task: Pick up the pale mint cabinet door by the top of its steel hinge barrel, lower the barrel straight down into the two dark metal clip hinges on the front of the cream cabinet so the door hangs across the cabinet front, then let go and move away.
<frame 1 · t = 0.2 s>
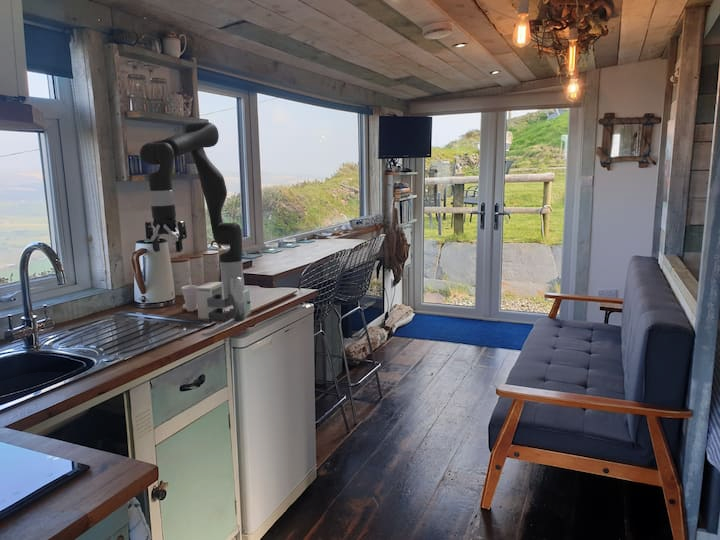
hand: (168, 251, 184), 29 cm above the worktop, tool pointing down, fingers open, 8 cm apart
smoothie: (191, 310, 218), on the worktop
door: (239, 319, 203), on the worktop
cabinet: (212, 314, 210), on the worktop
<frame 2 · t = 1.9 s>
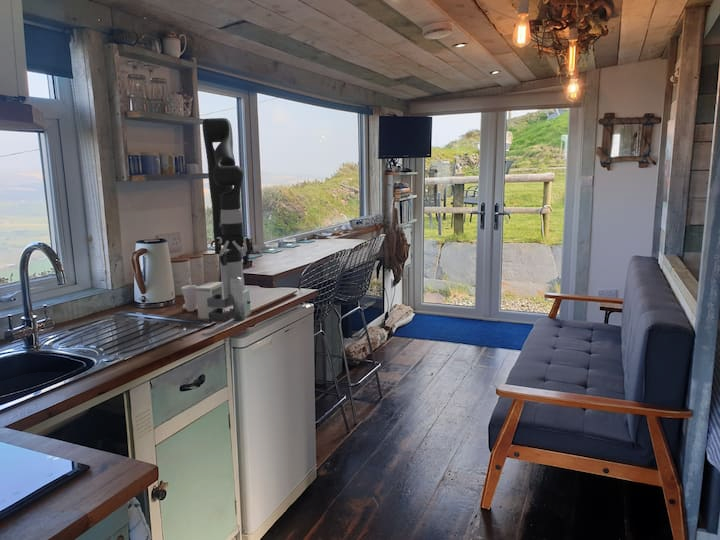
hand: (235, 265, 199), 21 cm above the worktop, tool pointing down, fingers open, 8 cm apart
nothing on the worktop moved.
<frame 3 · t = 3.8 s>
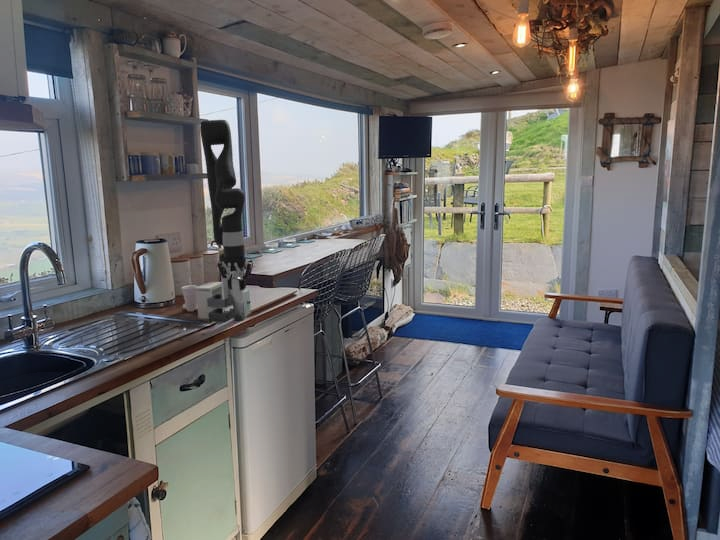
hand: (237, 289, 201), 12 cm above the worktop, tool pointing down, fingers closed on door, 4 cm apart
door: (239, 319, 203), on the worktop, touching gripper
everything else where it was.
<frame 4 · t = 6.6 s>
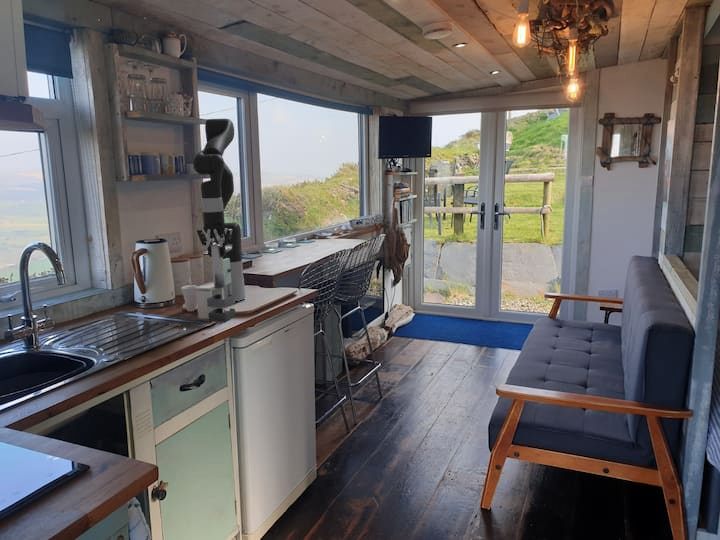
hand: (217, 256, 200), 24 cm above the worktop, tool pointing down, fingers closed on door, 4 cm apart
door: (219, 287, 202), point 12 cm above the worktop, touching gripper
everything else where it was.
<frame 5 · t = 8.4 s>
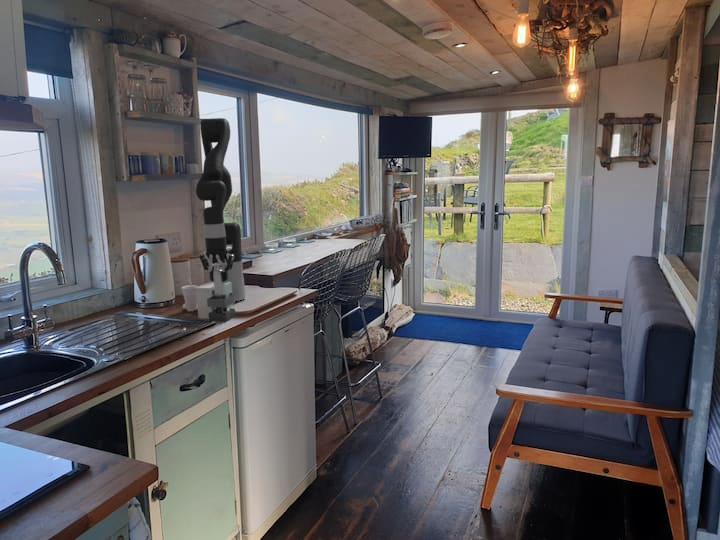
hand: (219, 281, 202), 15 cm above the worktop, tool pointing down, fingers closed on door, 4 cm apart
door: (221, 311, 204), point 3 cm above the worktop, touching gripper
everything else where it was.
when the fingers open (13 cm above the worktop, at t = 9.7 s): door drops 1 cm, on the worktop.
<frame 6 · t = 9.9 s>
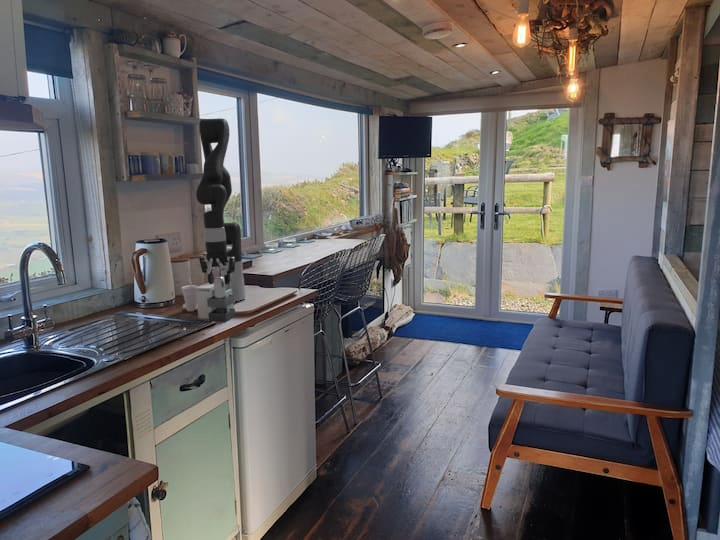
hand: (219, 283, 202), 14 cm above the worktop, tool pointing down, fingers open, 6 cm apart
door: (222, 318, 205), on the worktop
everything else where it was.
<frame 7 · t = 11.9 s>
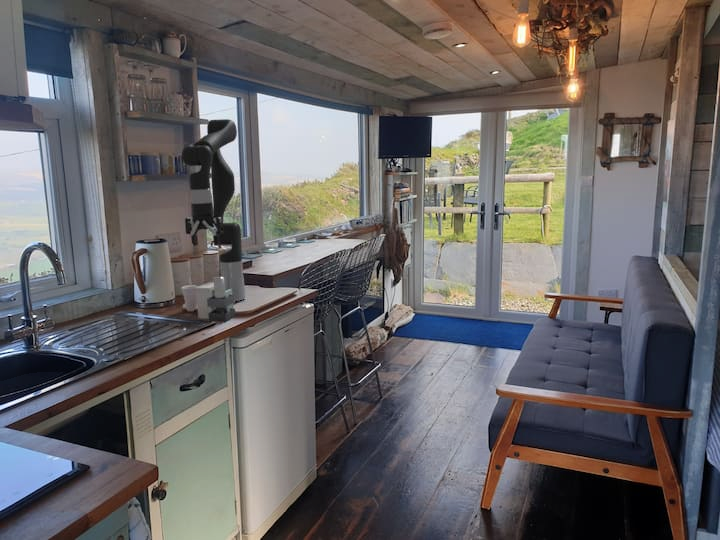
hand: (206, 245, 201), 28 cm above the worktop, tool pointing down, fingers open, 8 cm apart
nothing on the worktop moved.
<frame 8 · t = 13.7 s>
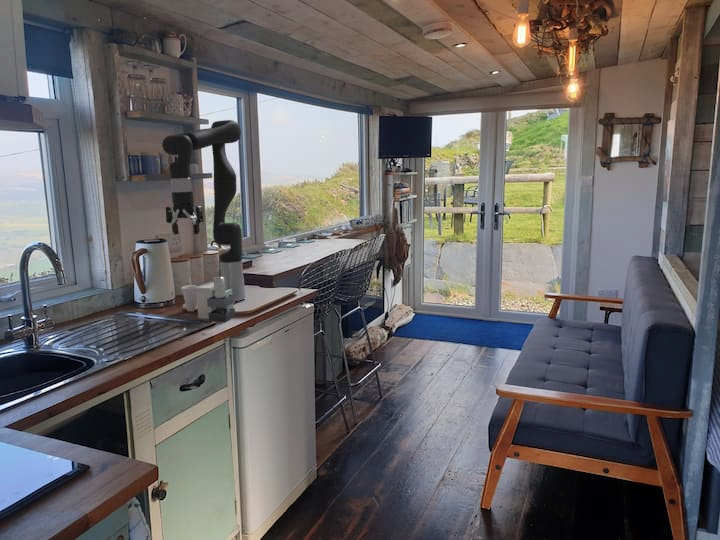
hand: (186, 234, 203), 32 cm above the worktop, tool pointing down, fingers open, 8 cm apart
nothing on the worktop moved.
at the end: door 0.2 cm from the target spot on the cabinet, point 0.0 cm above the cabinet's base; door tilted 0°; the gripper is holding nothing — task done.
